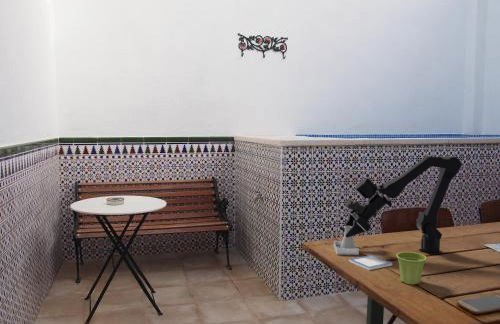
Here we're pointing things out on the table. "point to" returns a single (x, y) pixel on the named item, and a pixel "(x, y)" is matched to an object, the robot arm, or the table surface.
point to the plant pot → (411, 267)
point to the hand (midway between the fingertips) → (344, 233)
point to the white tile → (370, 262)
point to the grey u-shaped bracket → (345, 249)
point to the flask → (347, 239)
